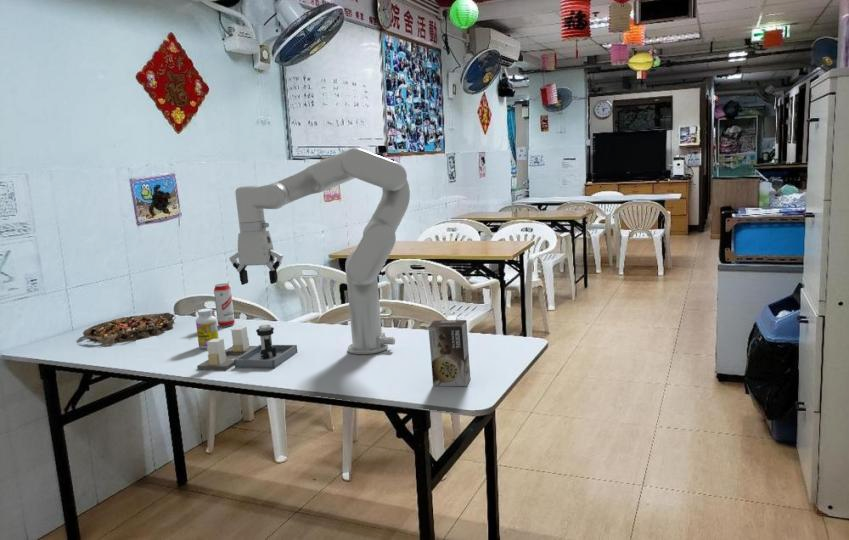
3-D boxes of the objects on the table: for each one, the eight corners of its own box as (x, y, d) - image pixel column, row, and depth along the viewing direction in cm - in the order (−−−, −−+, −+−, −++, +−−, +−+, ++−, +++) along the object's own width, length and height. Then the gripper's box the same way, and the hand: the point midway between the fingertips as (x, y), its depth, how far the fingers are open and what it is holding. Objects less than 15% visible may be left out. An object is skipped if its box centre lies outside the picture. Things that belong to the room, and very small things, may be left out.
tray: (297, 352, 208) (296, 344, 208) (274, 368, 193) (273, 360, 193) (260, 352, 211) (259, 344, 211) (235, 368, 196) (234, 360, 196)
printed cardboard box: (471, 378, 172) (467, 319, 170) (466, 387, 166) (462, 325, 164) (437, 378, 175) (433, 319, 172) (431, 386, 169) (427, 326, 166)
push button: (263, 362, 198) (259, 330, 197) (252, 359, 201) (248, 328, 200) (280, 356, 203) (277, 324, 202) (269, 353, 207) (265, 323, 205)
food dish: (136, 349, 231) (132, 328, 229) (63, 348, 241) (59, 328, 240) (198, 321, 263) (195, 302, 262) (132, 321, 274) (128, 303, 272)
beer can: (238, 324, 253) (233, 283, 250) (225, 328, 248) (220, 286, 245) (227, 322, 256) (222, 282, 254) (214, 326, 251) (209, 286, 248)
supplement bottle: (194, 348, 221) (190, 311, 219) (208, 343, 227) (204, 307, 225) (209, 349, 218) (205, 312, 216) (223, 344, 224) (219, 308, 222)
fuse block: (260, 349, 215) (258, 325, 213) (227, 370, 195) (223, 343, 193) (233, 349, 217) (230, 325, 216) (197, 369, 197) (194, 343, 196)
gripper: (284, 224, 197) (290, 280, 200) (233, 227, 201) (239, 281, 204) (273, 227, 190) (279, 285, 193) (220, 230, 194) (227, 286, 197)
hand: (259, 283), depth 198 cm, fingers open, 9 cm apart
